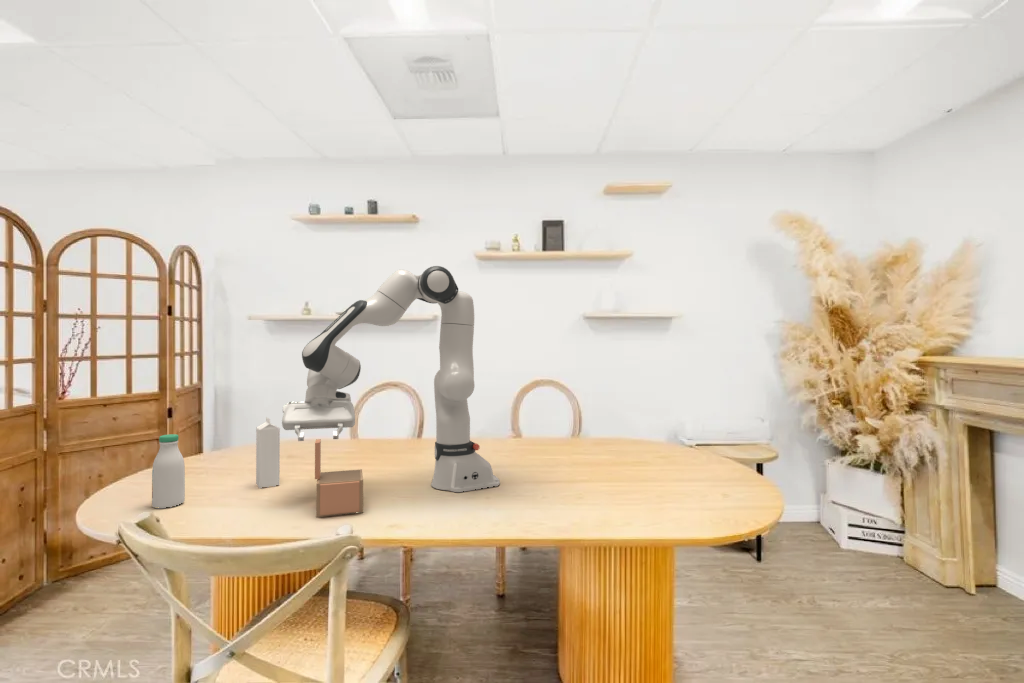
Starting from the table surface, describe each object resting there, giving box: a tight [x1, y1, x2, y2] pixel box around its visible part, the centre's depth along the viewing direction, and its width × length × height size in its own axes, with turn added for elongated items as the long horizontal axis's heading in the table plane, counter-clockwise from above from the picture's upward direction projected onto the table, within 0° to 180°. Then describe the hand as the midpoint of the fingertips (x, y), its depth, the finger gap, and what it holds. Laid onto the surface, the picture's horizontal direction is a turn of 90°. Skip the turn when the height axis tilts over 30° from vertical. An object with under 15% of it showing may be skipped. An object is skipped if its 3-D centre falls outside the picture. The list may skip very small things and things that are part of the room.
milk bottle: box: [151, 433, 186, 509], centre depth 142 cm, size 8×8×20 cm
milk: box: [255, 416, 281, 489], centre depth 162 cm, size 6×6×22 cm
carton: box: [315, 468, 364, 518], centre depth 139 cm, size 12×13×9 cm
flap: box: [314, 438, 322, 480], centre depth 138 cm, size 1×5×10 cm, turn 18°
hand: (318, 439), depth 142 cm, fingers open, 8 cm apart
